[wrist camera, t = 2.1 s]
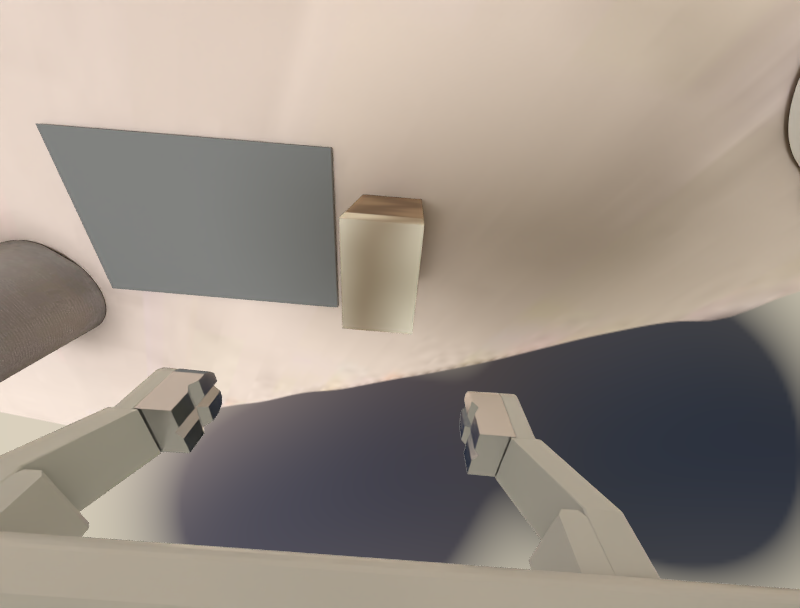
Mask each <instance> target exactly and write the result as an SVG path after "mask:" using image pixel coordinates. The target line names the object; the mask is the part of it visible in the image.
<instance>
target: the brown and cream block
mask: <svg viewBox="0 0 800 608" xmlns="http://www.w3.org/2000/svg"><path fill="white" fill-rule="evenodd" d="M423 233H424V217H423V208H422V199H411V198H399V197H387V196H375V195H362V196H361V197H360V198H359V199H358V200H357V201H356V202H355V203H354V204H353V205H352V206H351V207H350V208H349V209H348V210H347V211H346V212H345V213H344V214H343V215H342V216H341V217H340V218H339V235H340V265H341V296H342V326H343V328H344V329H356V330H368V331H379V332H391V333H402V334H412V331H413V322H414V313H415V304H416V295H417V287H418V278H419V269H420V260H421V251H422V242H423Z"/></svg>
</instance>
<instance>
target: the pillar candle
mask: <svg viewBox="0 0 800 608" xmlns="http://www.w3.org/2000/svg"><path fill="white" fill-rule="evenodd" d="M105 313H106V307H105V301H104V298H103V296H102V293H101V291H100V290H99V288H98V286H97V284H96V283H95V282H94V281H93V279H91V278H90V276H89V275H88V273H87V272H86V271H85V270H83V269H82V268H81V267H80V266H78V265H77V264H75V263H73V262H71V261H70V260H68V259H66V258H64V257H63V256H61V255H59V254H58V253H56V252H54V251H52V250H50V249H49V248H47V247H45V246H43V245H40V244H38V243H34V242H30V241H23V240H22V241H6V242H2V243H0V382H2V381H3V380H5V379H7V378H9V377H10V376H12V375H14V374H15V373H17V372H19V371H21V370H22V369H24V368H26V367H27V366H29V365H31V364H33V363H34V362H36V361H38V360H40V359H42V358H43V357H45V356H47V355H48V354H50V353H52V352H54V351H55V350H57V349H59V348H60V347H62V346H64V345H66V344H68V343H69V342H71V341H73V340H74V339H76V338H78V337H80V336H81V335H83V334H85V333H86V332H88V331H90V330H92V329H93V328H95V327H97V326H98V325H99V324H100V323H101V322H102V321H103V319H104V317H105Z"/></svg>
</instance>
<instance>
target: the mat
mask: <svg viewBox="0 0 800 608" xmlns="http://www.w3.org/2000/svg"><path fill="white" fill-rule="evenodd" d="M36 125H37V128H38V130H39V132H40V134H41V136H42V138H43V140H44V143H45V145H46V147H47V149H48V151H49V153H50V155H51V157H52V160H53V162H54V164H55V166H56V168H57V170H58V172H59V175H60V177H61V179H62V181H63V183H64V185H65V187H66V189H67V192H68V194H69V196H70V198H71V200H72V202H73V204H74V207H75V209H76V211H77V213H78V215H79V217H80V219H81V221H82V224H83V226H84V228H85V230H86V232H87V234H88V236H89V239H90V241H91V243H92V245H93V247H94V249H95V251H96V253H97V256H98V258H99V260H100V262H101V264H102V266H103V268H104V271H105V273H106V275H107V277H108V279H109V281H110V283H111V285H112V288H117V289H129V290H141V291H152V292H164V293H175V294H187V295H199V296H210V297H222V298H234V299H245V300H257V301H269V302H280V303H292V304H304V305H315V306H327V307H338V285H337V259H336V234H335V209H334V184H333V159H332V148H329V147H317V146H305V145H293V144H281V143H268V142H256V141H244V140H232V139H219V138H207V137H195V136H183V135H171V134H158V133H146V132H134V131H122V130H110V129H97V128H85V127H73V126H61V125H48V124H36Z"/></svg>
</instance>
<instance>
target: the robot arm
mask: <svg viewBox="0 0 800 608" xmlns="http://www.w3.org/2000/svg"><path fill="white" fill-rule="evenodd" d="M788 134H789V142H790V147H791V150H792V154H793V156H794V158H795V160H796V162H797V163H798V165H799V166H800V78H799V81H798V84H797V86H796V89H795V93H794V96H793V100H792V104H791V109H790V114H789V124H788ZM216 382H217V379H216V377H215V374H214V373H212V372H207V371H197V370H187V369H175V368H165V367H163V368H160V369H158V370H156V371H155V372H154V373H153V374H151V375H150V376H149V377H148V378H147V379H146V380H145V381H143V382H142V383H141V384H140V385H139V386H138V387H137V388H135V389H134V390H133V391H132V392H131V393H130V394H129V395H127V396H126V397H125V398H124V399H123V400H122V401H120V402H119V403H118V404H117V405H116V406H115V407H107V408H105V409H103V410H101V411H98V412H96V413H94V414H92V415H90V416H87V417H85V418H83V419H81V420H78V421H76V422H74V423H72V424H70V425H67V426H65V427H63V428H61V429H58V430H56V431H54V432H52V433H49V434H47V435H45V436H43V437H41V438H38V439H36V440H34V441H32V442H29V443H27V444H25V445H23V446H21V447H18V448H16V449H14V450H12V451H9V452H7V453H5V454H3V455H1V456H0V608H800V589H790V588H776V587H761V586H749V585H736V584H722V583H708V582H695V581H681V580H668V579H660V577H659V575H658V574H657V572H656V570H655V568H654V567H653V565H652V563H651V561H650V560H649V558H648V556H647V555H646V553H645V551H644V549H643V548H642V546H641V544H640V542H639V541H638V539H637V537H636V535H635V534H634V532H633V530H632V529H631V527H630V525H629V523H628V522H627V520H626V518H625V517H624V515H623V513H622V512H621V511H620V510H619V509H618V508H617V507H616V506H614V505H613V504H612V503H611V502H610V501H609V500H608V499H607V498H606V497H604V496H603V495H602V494H601V493H600V492H599V491H598V490H596V489H595V488H594V487H593V486H592V485H591V484H590V483H589V482H587V481H586V480H585V479H584V478H583V477H582V476H581V475H580V474H578V473H577V472H576V471H575V470H574V469H573V468H572V467H570V466H569V465H568V464H567V463H566V462H565V461H564V460H563V459H562V458H560V457H559V456H558V455H557V454H556V453H555V452H553V450H551V449H550V448H549V447H548V446H547V445H546V444H545V443H543V442H542V441H541V440H537V439H535V437H534V435H533V433H532V430H531V428H530V426H529V423H528V421H527V419H526V416H525V414H524V412H523V410H522V407H521V405H520V403H519V400H518V398H517V397H516V396H515V395H514V394H502V393H499V394H497V393H486V392H470V391H468V392H467V393H466V395H465V399H464V401H465V406H466V407H465V408H463V409H462V411H461V415H460V434H461V440H462V441H463V442H464V443H465V444H466V446H465V450H464V458H465V463H466V469H467V473H468V474H474V475H484V476H494V477H496V480H497V481H498V482H499V484H500V485H501V486H502V488H503V489H504V490H505V492H506V493H507V495H508V496H509V497H510V499H511V500H512V502H513V503H514V504H515V505H516V507H517V508H518V510H519V511H520V512H521V514H522V515H523V517H524V518H525V519H526V521H527V522H528V523H529V525H530V526H531V527H532V529H533V530H534V531H535V533H536V534H537V536H538V537H539V538H540V540H541V541H540V543H539V545H538V546H537V548H536V549H535V551H534V553H533V554H532V556H531V557H530V559H529V563H530V566H531V570H530V569H517V568H503V567H489V566H475V565H461V564H448V563H433V562H420V561H405V560H393V559H379V558H366V557H352V556H339V555H324V554H311V553H298V552H284V551H270V550H256V549H243V548H228V547H215V546H202V545H201V546H200V545H188V544H174V543H160V542H146V541H133V540H118V539H105V538H91V537H82V536H83V534H84V533H85V532H86V531H87V530H88V528H89V522H88V521H87V520H86V519H85V518H84V517H83V516H82V515H81V513H80V511H81V510H83V509H84V508H85V507H87V506H88V505H90V504H91V503H92V502H93V501H95V500H97V499H98V498H99V497H101V496H102V495H103V494H105V493H106V492H107V491H109V490H110V489H112V488H113V487H115V486H116V485H117V484H119V483H120V482H121V481H123V480H124V479H126V478H127V477H129V476H130V475H131V474H133V473H134V472H136V471H137V470H138V469H140V468H141V467H143V466H144V465H145V464H147V463H148V462H150V461H151V460H152V459H154V458H155V457H156V456H158V455H159V454H161V452H179V453H190V452H191V451H192V450H193V448H194V447H195V446H196V444H197V443H198V441H199V440H200V439H201V437H202V436H203V434H204V426H206V425H207V424H209V423H211V422H212V421H213V420H214V419H215V418H216V416H217V415H218V413H219V411H220V408H221V405H222V395H221V392H220V390H218V389H217V388H216V387H215V386H214V385H215V383H216Z"/></svg>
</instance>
